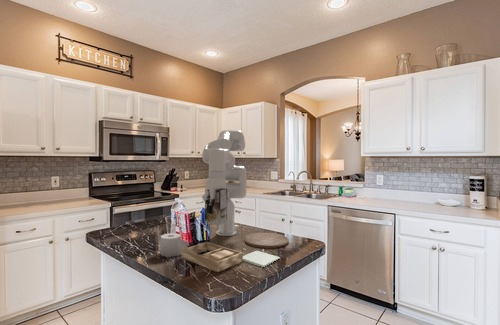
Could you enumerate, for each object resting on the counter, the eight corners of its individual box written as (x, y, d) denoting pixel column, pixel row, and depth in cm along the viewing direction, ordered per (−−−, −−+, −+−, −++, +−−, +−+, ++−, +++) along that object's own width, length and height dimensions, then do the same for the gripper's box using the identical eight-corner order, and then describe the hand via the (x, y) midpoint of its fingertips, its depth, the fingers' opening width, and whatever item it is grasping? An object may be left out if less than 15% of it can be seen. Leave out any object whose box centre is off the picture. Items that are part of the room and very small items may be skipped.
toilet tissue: (190, 253, 133) (190, 235, 133) (162, 258, 126) (162, 239, 126) (184, 247, 141) (185, 231, 141) (158, 252, 134) (158, 234, 134)
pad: (256, 252, 136) (256, 250, 136) (280, 259, 127) (280, 257, 127) (239, 259, 126) (239, 257, 126) (263, 267, 117) (263, 265, 117)
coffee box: (227, 222, 129) (228, 188, 129) (220, 225, 123) (220, 190, 123) (211, 220, 133) (212, 187, 133) (203, 222, 127) (204, 188, 127)
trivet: (295, 240, 158) (295, 237, 158) (275, 252, 138) (275, 248, 137) (259, 233, 172) (259, 230, 172) (235, 243, 151) (236, 239, 151)
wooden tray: (207, 249, 139) (207, 241, 139) (242, 261, 124) (242, 252, 124) (181, 257, 127) (182, 249, 127) (217, 272, 112) (217, 262, 112)
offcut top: (224, 255, 126) (225, 249, 126) (234, 258, 122) (234, 252, 122) (210, 260, 120) (210, 254, 120) (219, 264, 115) (219, 258, 115)
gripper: (224, 173, 137) (223, 208, 137) (196, 175, 124) (196, 213, 124) (235, 174, 132) (234, 210, 132) (207, 176, 119) (207, 216, 119)
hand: (216, 211), depth 128 cm, fingers closed on coffee box, 7 cm apart
